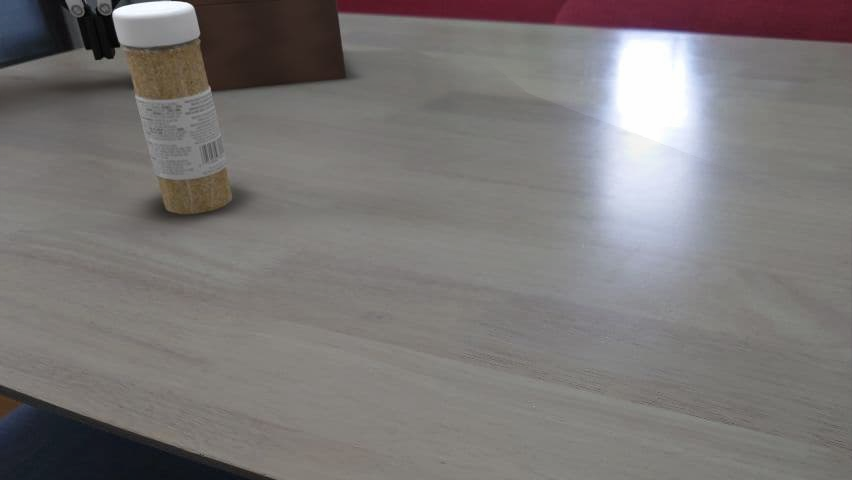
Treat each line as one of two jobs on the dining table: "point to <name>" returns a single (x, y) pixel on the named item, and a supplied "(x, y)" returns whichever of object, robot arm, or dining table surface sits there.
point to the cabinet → (268, 42)
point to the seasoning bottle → (175, 104)
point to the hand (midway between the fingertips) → (105, 56)
